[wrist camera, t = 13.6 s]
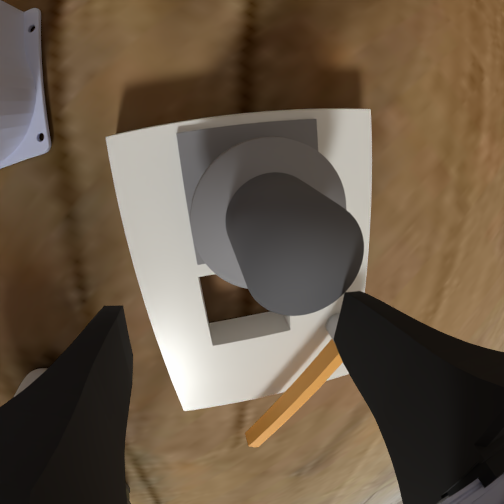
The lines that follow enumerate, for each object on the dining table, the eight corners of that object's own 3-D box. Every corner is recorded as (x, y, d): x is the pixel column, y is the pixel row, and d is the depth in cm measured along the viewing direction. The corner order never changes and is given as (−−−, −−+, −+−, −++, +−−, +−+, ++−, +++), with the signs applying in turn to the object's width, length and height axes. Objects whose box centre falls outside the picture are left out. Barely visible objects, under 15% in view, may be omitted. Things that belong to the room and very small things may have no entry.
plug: (166, 165, 15) (153, 211, 8) (294, 113, 15) (376, 121, 8) (220, 277, 18) (246, 372, 11) (331, 228, 18) (405, 295, 11)
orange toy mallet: (238, 423, 24) (244, 450, 22) (336, 309, 21) (355, 334, 18) (256, 426, 25) (263, 452, 22) (354, 317, 21) (372, 341, 19)
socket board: (115, 133, 16) (104, 137, 13) (349, 108, 18) (373, 109, 15) (182, 388, 25) (184, 414, 22) (341, 353, 27) (354, 375, 24)
